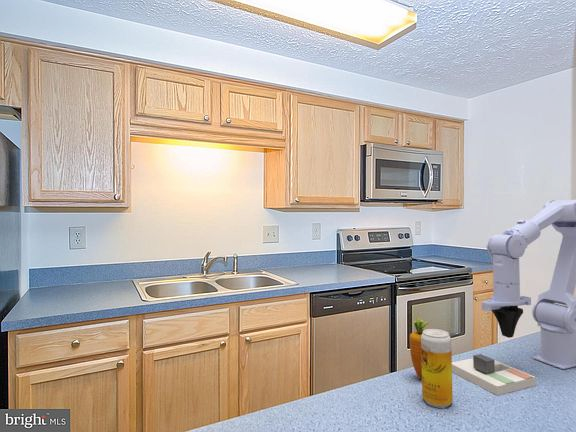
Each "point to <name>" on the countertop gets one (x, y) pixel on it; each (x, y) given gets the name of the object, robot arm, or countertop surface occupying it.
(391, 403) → the countertop surface
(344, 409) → the countertop surface
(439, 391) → the beer can
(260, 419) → the countertop surface
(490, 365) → the switch handle
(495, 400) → the countertop surface
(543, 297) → the robot arm
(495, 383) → the switch board
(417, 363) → the carrot
